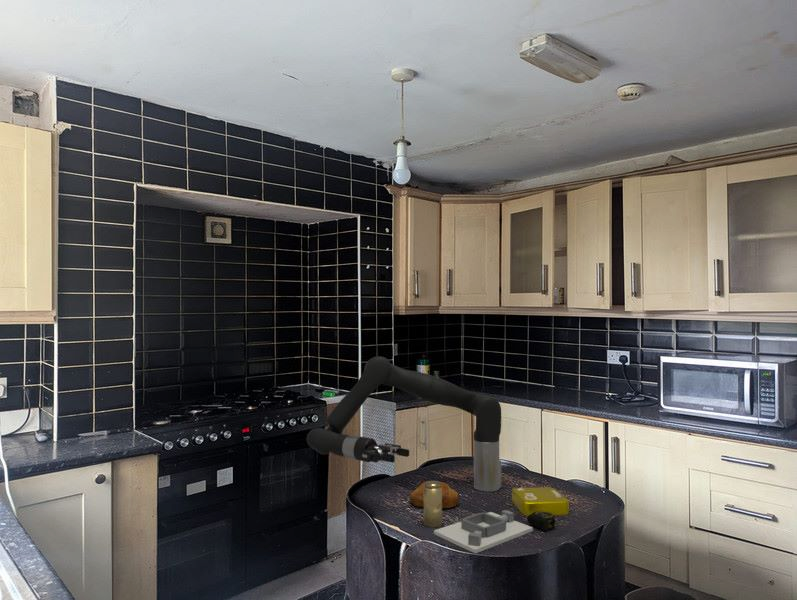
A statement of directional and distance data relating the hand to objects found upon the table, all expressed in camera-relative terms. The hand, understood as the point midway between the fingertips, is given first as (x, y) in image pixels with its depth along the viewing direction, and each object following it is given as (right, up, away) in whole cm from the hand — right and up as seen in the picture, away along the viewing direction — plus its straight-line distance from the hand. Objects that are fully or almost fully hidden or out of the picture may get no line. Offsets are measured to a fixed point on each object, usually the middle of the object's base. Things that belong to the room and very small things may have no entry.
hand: (401, 456), depth 166 cm
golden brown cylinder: (+9, -18, -6) cm, 22 cm away
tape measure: (+41, -19, -9) cm, 46 cm away
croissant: (+11, -19, +12) cm, 25 cm away
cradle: (+23, -18, -13) cm, 32 cm away
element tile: (+45, -19, +8) cm, 50 cm away
